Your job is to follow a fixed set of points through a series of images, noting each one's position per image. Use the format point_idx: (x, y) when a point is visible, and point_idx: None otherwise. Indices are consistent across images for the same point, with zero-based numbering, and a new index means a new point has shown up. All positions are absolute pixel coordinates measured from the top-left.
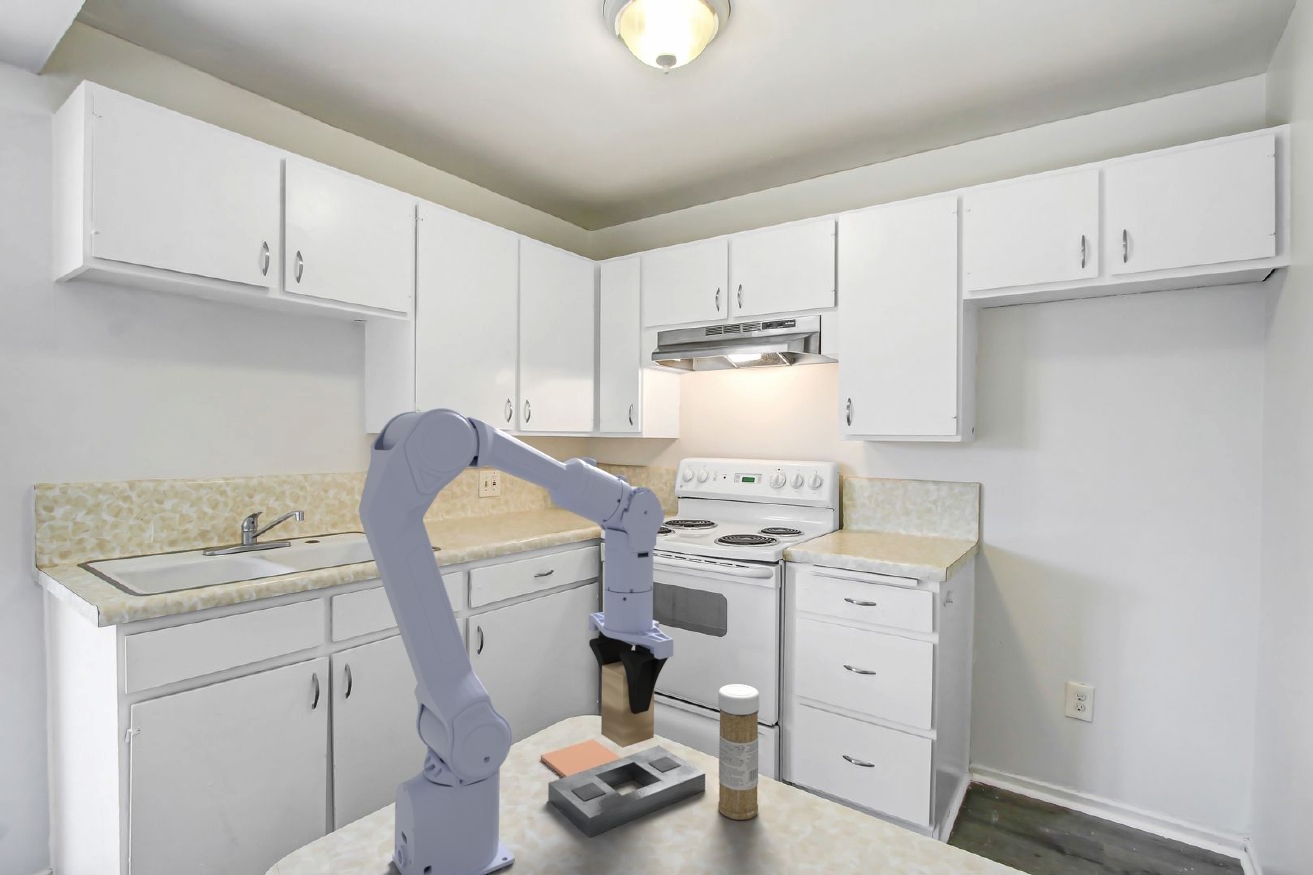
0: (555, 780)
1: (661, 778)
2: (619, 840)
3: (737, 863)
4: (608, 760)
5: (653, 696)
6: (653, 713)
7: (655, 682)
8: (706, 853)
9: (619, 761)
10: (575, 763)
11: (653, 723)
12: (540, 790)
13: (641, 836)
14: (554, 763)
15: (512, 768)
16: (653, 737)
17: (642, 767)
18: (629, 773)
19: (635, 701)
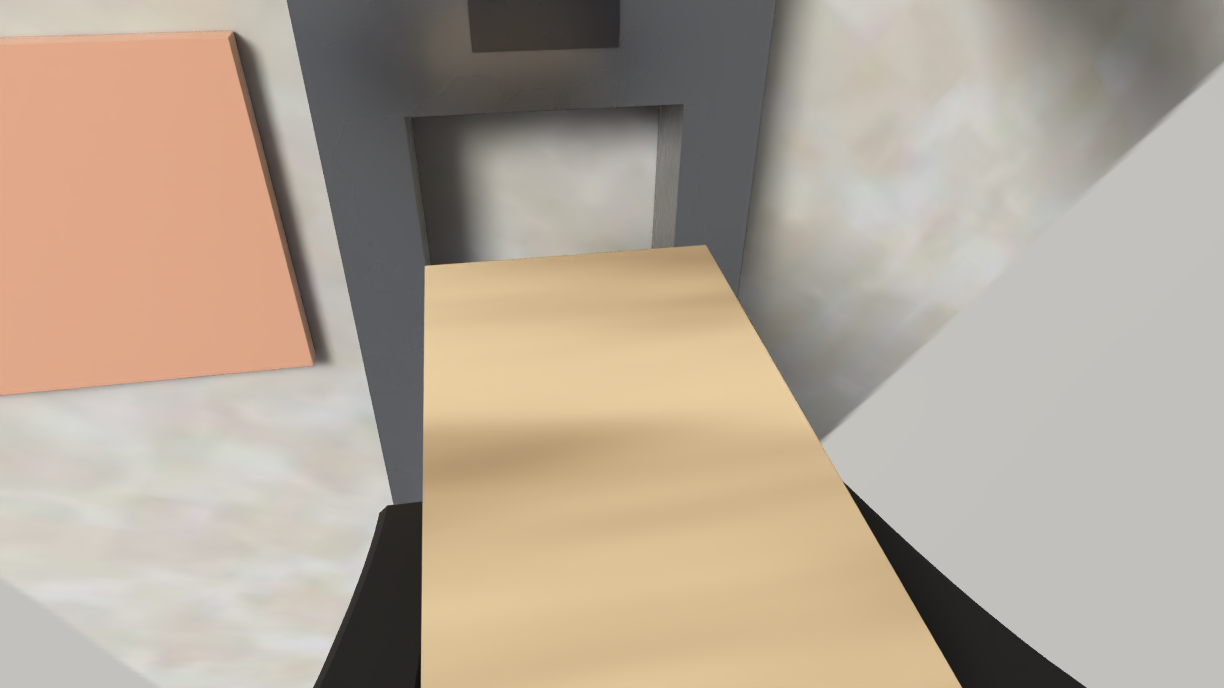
0: (390, 486)
1: (666, 93)
2: (773, 359)
3: (1169, 108)
4: (165, 126)
5: (821, 454)
6: (762, 348)
7: (1015, 640)
8: (1050, 163)
9: (354, 184)
10: (134, 293)
11: (734, 300)
12: (303, 459)
13: (811, 293)
14: (95, 375)
15: (41, 498)
16: (707, 248)
17: (496, 112)
18: (409, 125)
19: None
